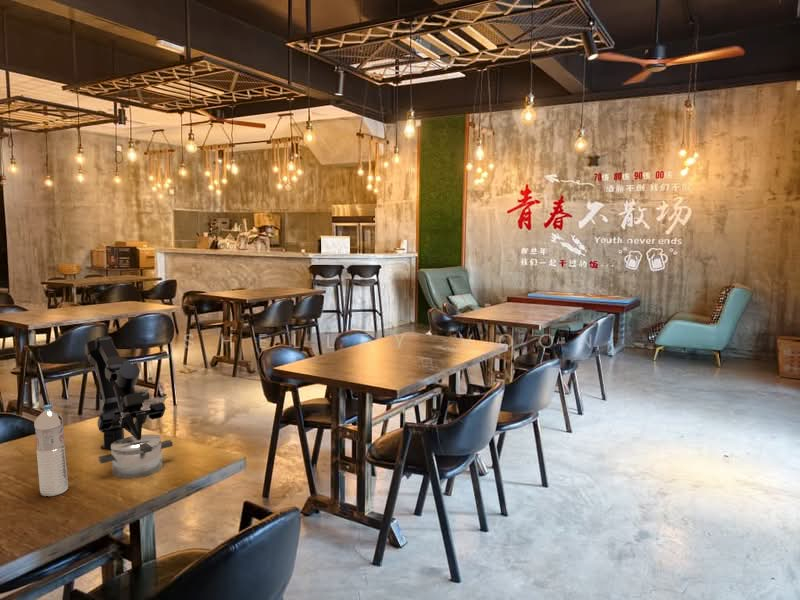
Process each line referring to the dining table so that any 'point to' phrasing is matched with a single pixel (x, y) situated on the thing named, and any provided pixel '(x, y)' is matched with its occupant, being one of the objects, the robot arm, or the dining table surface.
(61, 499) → the dining table surface
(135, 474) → the cooker pot
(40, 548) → the dining table surface
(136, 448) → the cooker lid
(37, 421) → the water bottle
